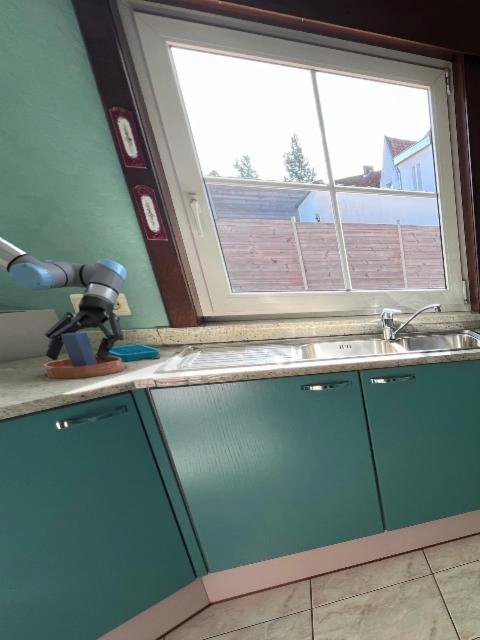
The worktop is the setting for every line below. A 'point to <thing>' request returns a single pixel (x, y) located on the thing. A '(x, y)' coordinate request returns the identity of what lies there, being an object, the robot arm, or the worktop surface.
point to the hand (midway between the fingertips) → (76, 357)
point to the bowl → (83, 368)
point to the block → (79, 349)
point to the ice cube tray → (134, 352)
